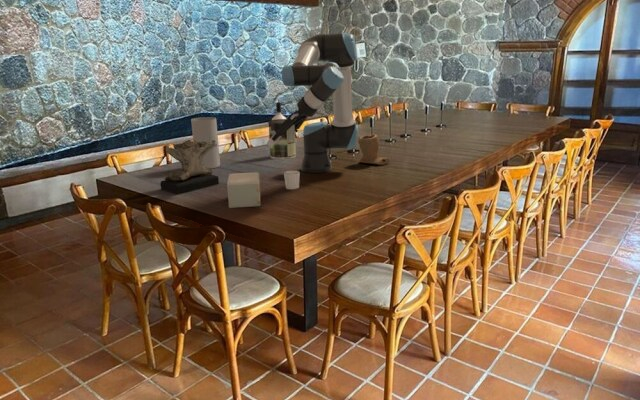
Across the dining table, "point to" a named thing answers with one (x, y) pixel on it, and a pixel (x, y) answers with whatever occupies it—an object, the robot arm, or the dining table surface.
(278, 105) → the vodka
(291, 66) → the robot arm
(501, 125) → the dining table surface
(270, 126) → the coffee can
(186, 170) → the coral
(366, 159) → the stone cup
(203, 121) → the cylinder vase
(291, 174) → the shot glass
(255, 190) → the cabinet
